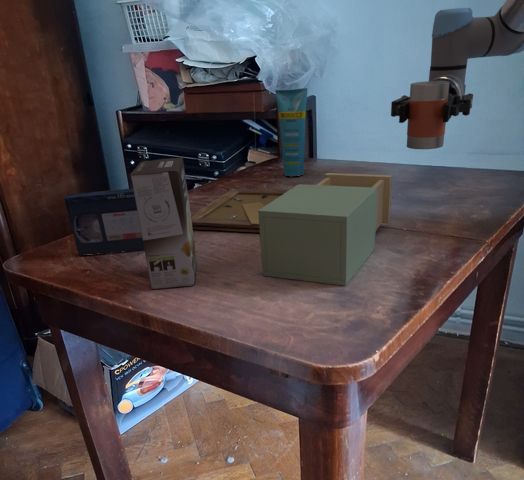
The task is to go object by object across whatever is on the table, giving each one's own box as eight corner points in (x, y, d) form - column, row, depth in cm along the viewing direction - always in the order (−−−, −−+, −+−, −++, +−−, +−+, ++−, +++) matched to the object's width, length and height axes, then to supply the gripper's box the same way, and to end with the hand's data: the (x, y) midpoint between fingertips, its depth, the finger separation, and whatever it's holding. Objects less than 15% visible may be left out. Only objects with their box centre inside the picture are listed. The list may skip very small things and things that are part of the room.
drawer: (335, 210, 100) (335, 167, 96) (395, 214, 96) (398, 169, 92) (299, 241, 87) (297, 193, 83) (368, 247, 82) (369, 196, 78)
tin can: (446, 142, 100) (452, 80, 95) (440, 149, 95) (446, 84, 89) (410, 142, 102) (414, 81, 97) (402, 149, 97) (406, 85, 92)
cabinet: (300, 242, 89) (298, 184, 84) (374, 249, 84) (377, 187, 79) (262, 275, 78) (257, 210, 73) (346, 286, 73) (346, 216, 68)
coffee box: (195, 286, 76) (179, 170, 68) (151, 290, 76) (128, 174, 68) (198, 262, 84) (183, 156, 76) (157, 266, 84) (138, 160, 76)
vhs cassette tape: (77, 257, 90) (62, 198, 85) (81, 251, 93) (66, 193, 88) (186, 247, 91) (178, 187, 86) (187, 241, 93) (178, 183, 88)
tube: (277, 178, 130) (273, 90, 120) (280, 173, 134) (276, 88, 124) (308, 177, 128) (306, 88, 119) (310, 172, 132) (308, 86, 123)
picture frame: (277, 234, 93) (314, 198, 112) (276, 224, 92) (314, 189, 111) (183, 229, 99) (233, 195, 118) (181, 220, 98) (232, 187, 117)
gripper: (488, 116, 108) (481, 137, 90) (390, 118, 115) (366, 137, 97) (494, 75, 104) (487, 87, 86) (392, 79, 111) (367, 92, 93)
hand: (423, 114), depth 92 cm, fingers closed on tin can, 7 cm apart
